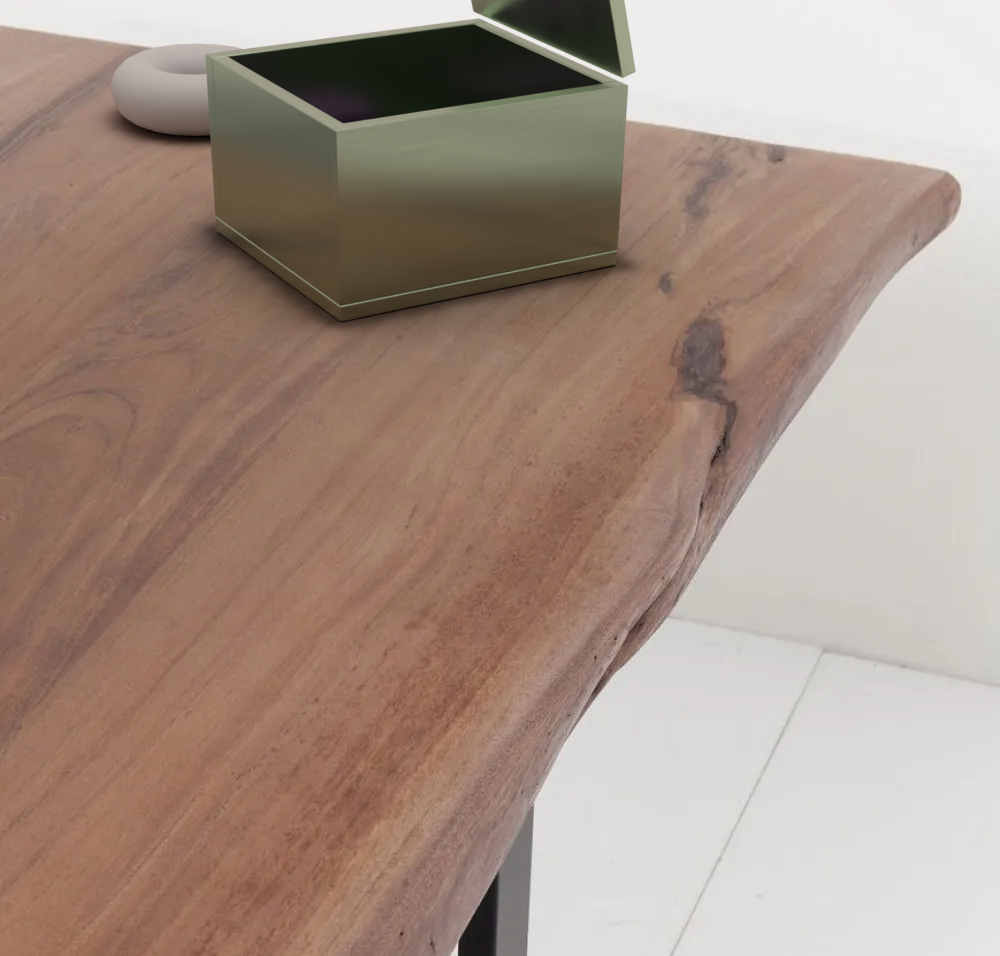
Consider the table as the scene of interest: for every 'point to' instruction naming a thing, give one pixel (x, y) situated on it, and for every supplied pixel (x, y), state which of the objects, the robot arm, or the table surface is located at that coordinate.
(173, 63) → the donut
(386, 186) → the green metal box
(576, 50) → the green box lid
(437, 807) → the table surface
